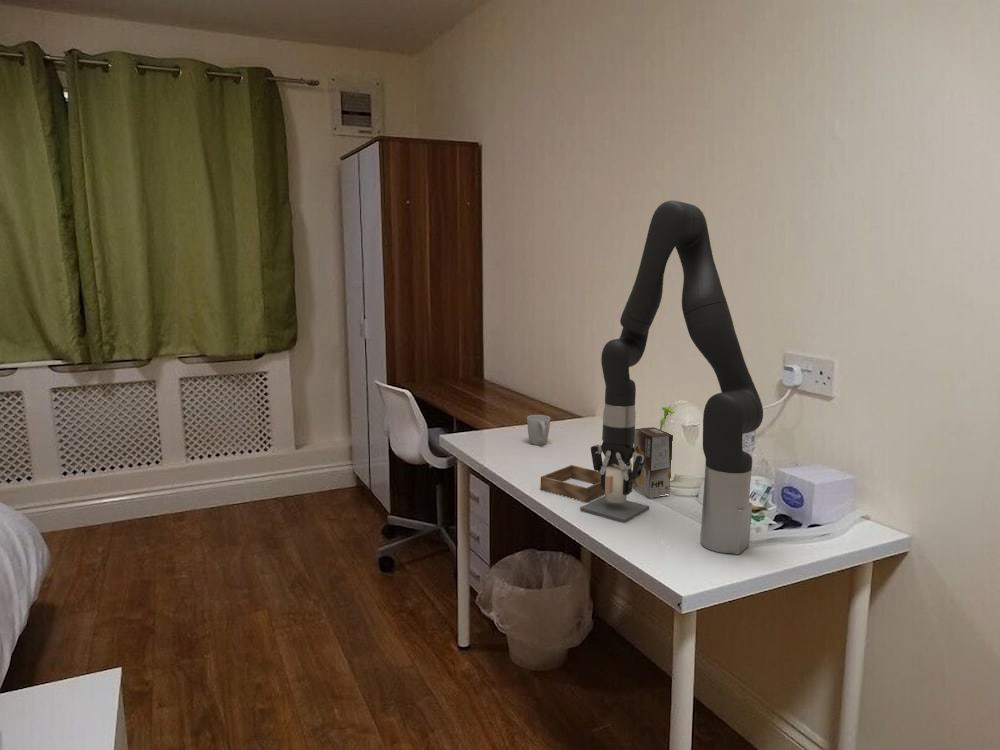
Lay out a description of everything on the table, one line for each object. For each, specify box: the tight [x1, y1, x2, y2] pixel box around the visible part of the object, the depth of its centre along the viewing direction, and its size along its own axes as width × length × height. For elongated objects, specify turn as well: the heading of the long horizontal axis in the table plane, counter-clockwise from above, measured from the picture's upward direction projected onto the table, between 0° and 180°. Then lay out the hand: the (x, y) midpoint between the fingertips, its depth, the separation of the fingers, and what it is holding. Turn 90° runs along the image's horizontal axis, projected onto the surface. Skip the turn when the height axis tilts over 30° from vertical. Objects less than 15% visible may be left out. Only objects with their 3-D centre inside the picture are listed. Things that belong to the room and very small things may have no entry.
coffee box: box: [632, 426, 673, 499], centre depth 184 cm, size 9×6×16 cm
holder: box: [539, 464, 605, 503], centre depth 186 cm, size 14×14×4 cm
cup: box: [526, 414, 551, 446], centre depth 229 cm, size 8×10×8 cm
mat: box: [579, 495, 650, 524], centre depth 171 cm, size 12×12×1 cm
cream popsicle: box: [604, 464, 628, 503], centre depth 170 cm, size 7×5×8 cm
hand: (615, 491), depth 171 cm, fingers closed on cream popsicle, 5 cm apart
